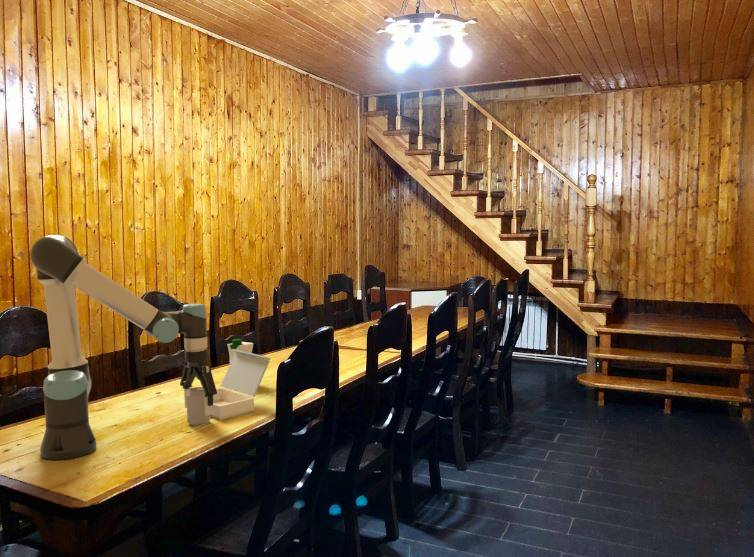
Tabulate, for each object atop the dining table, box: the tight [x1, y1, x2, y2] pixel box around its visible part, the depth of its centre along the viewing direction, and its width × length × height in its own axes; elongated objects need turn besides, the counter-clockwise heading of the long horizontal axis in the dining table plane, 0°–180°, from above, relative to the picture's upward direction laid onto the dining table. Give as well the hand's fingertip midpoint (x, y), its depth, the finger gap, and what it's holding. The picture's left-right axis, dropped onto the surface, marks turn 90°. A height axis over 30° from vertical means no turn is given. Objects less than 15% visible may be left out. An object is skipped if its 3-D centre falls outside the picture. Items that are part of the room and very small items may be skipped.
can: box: [186, 386, 211, 427], centre depth 216 cm, size 8×8×12 cm
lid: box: [220, 349, 271, 398], centre depth 237 cm, size 15×22×2 cm
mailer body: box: [210, 387, 255, 421], centre depth 231 cm, size 14×22×5 cm, turn 45°
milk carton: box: [227, 338, 254, 364], centre depth 266 cm, size 9×9×20 cm
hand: (199, 410), depth 216 cm, fingers open, 13 cm apart
